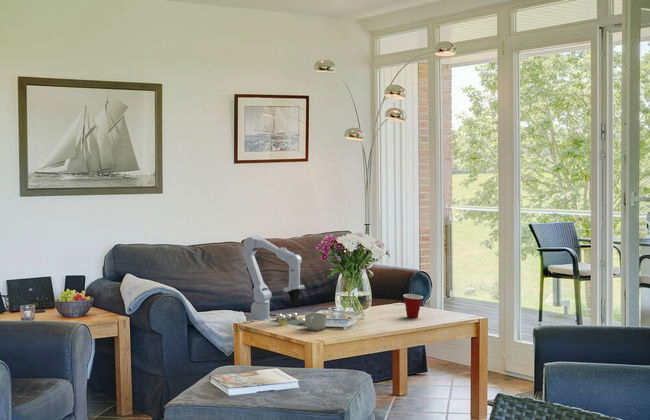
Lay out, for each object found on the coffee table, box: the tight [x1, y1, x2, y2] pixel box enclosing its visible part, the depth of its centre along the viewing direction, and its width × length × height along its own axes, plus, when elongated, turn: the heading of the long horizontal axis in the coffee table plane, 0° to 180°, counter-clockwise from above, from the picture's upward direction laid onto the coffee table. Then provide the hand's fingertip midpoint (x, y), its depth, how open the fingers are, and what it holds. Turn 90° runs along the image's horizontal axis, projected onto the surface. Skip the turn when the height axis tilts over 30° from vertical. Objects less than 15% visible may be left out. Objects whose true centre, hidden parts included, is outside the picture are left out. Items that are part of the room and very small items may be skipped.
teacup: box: [304, 312, 328, 332], centre depth 422 cm, size 14×11×8 cm
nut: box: [278, 318, 288, 327], centre depth 432 cm, size 5×4×3 cm
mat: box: [262, 318, 307, 330], centre depth 438 cm, size 24×20×1 cm
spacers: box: [275, 312, 305, 325], centre depth 442 cm, size 24×13×3 cm, turn 53°
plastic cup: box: [403, 293, 424, 319], centre depth 461 cm, size 11×11×12 cm
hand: (294, 304), depth 441 cm, fingers closed
